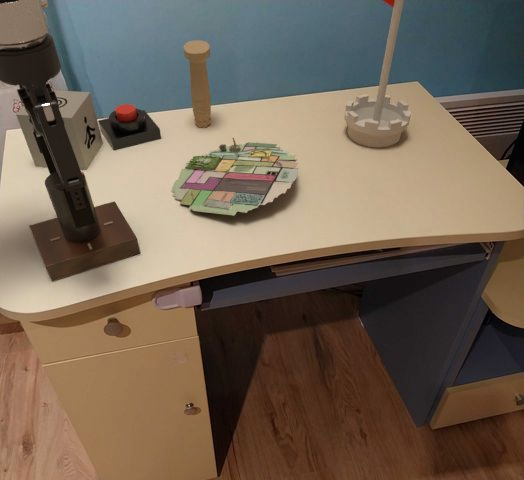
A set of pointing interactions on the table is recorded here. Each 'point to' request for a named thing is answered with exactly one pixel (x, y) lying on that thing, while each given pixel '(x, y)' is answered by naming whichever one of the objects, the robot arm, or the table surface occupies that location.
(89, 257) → the panel
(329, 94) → the table surface
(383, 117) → the flag stand
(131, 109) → the button
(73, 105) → the icon cube
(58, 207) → the knob
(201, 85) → the handle
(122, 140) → the button box
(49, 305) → the table surface
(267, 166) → the city model
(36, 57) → the robot arm
